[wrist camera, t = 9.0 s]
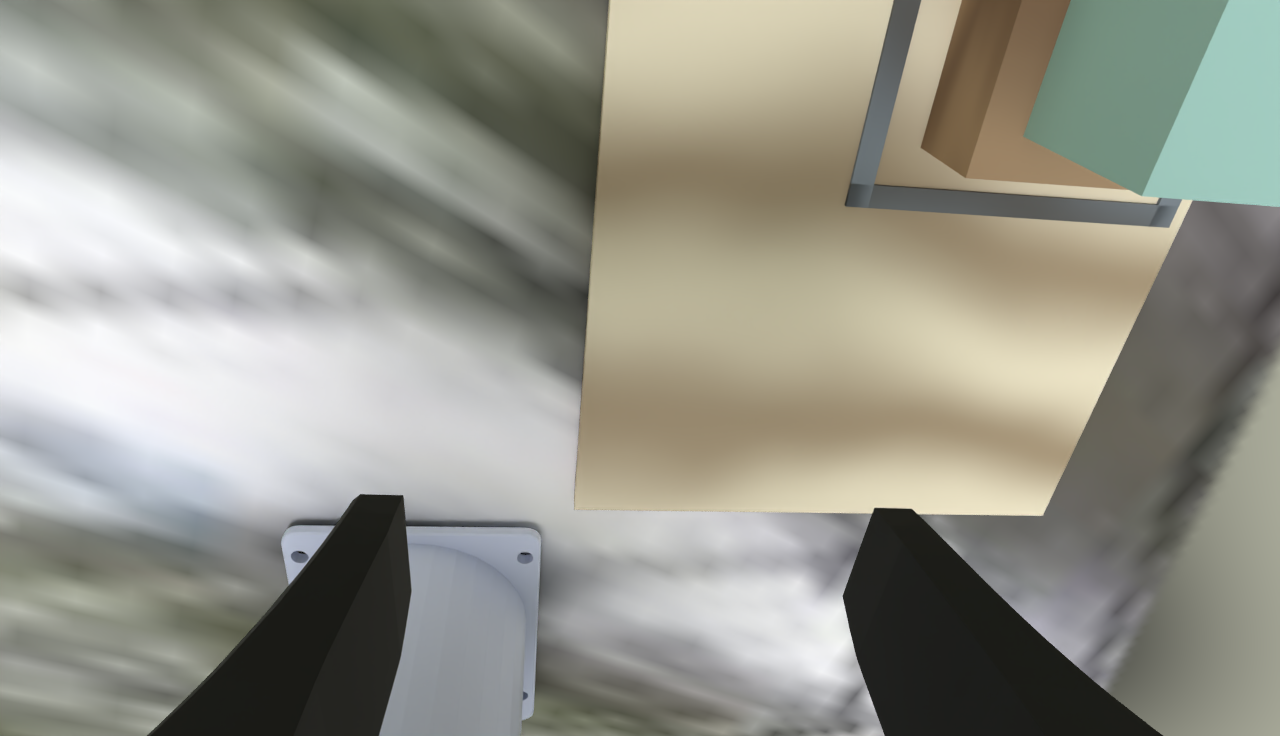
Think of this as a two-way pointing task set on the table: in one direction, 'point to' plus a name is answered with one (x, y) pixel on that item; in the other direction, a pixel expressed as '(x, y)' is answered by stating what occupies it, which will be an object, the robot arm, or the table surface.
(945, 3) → the build board
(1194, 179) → the teal block
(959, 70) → the walnut slab
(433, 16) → the table surface
